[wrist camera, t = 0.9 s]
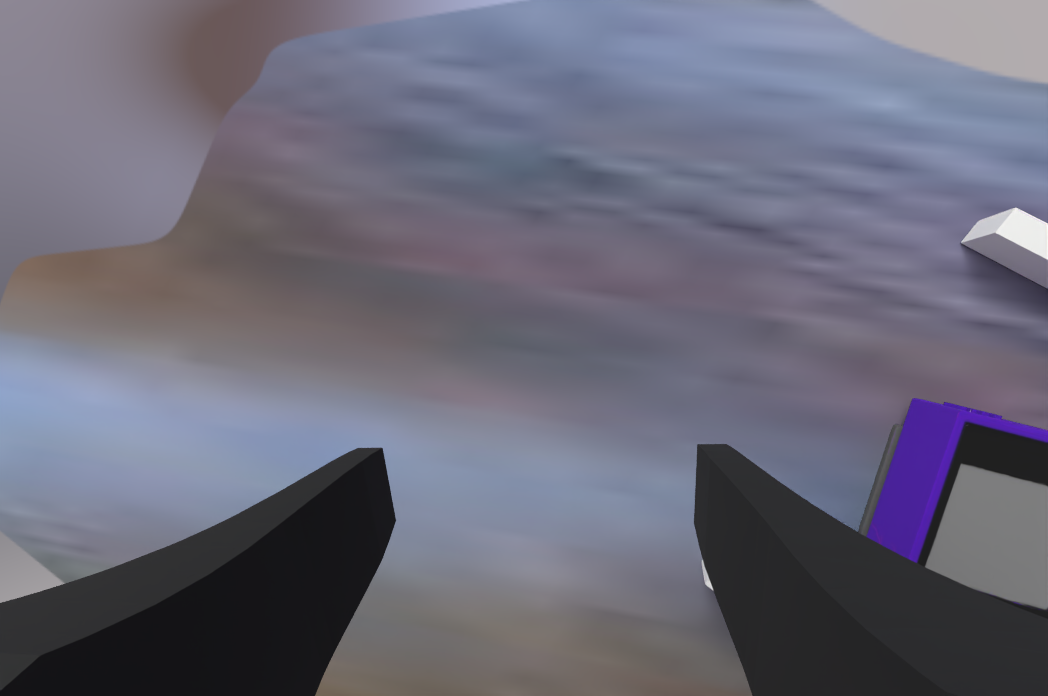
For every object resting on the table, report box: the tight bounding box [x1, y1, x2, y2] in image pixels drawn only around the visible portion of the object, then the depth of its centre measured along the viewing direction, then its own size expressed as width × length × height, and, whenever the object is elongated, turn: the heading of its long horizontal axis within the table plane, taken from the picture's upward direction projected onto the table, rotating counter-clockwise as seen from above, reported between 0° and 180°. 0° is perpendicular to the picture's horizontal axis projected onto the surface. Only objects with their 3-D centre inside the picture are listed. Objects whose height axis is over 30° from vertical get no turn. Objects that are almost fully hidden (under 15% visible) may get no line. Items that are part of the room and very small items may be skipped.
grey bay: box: [701, 208, 1048, 591], centre depth 22 cm, size 14×21×2 cm, turn 146°
